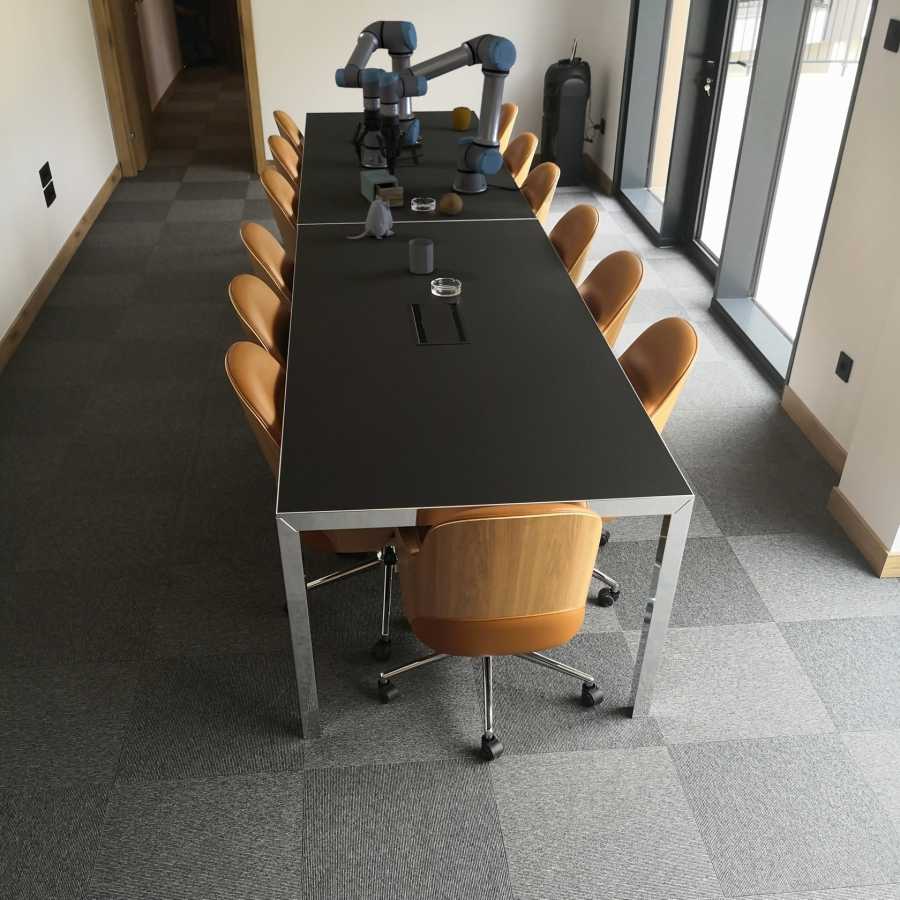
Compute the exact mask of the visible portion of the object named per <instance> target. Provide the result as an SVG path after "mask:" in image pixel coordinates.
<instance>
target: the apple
mask: <svg viewBox="0 0 900 900" xmlns="http://www.w3.org/2000/svg"><path fill="white" fill-rule="evenodd" d="M451 121H452V125H453V128H454V129H455V131H457V132H463V131H466V130H467V129H468V128H469V126H470V124H471V121H472V111H471V108H469V107H467V106H462V105H461V106H457V107H454V108H452V111H451Z"/></svg>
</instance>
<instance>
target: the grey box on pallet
mask: <svg viewBox="0 0 900 900" xmlns="http://www.w3.org/2000/svg"><path fill="white" fill-rule="evenodd" d="M359 173H360V189H361V190H360V191H361V195H362V196H364V198H366V199H367V201H369V203H370V204H372V202H373V201H375V187H374V184H381V183H390V182H394V183H395V184H396V185H397V186H398V187H399V185H398V179H397V177H395V175H390V174H389V170H387V169H386V168H382V169H371V170H363V171H360V172H359Z"/></svg>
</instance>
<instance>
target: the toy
mask: <svg viewBox="0 0 900 900" xmlns="http://www.w3.org/2000/svg"><path fill="white" fill-rule="evenodd" d="M393 221H394V220H393V217H392V213H391V207H389V200H387V203H386V202H382V200H381V198H380V197H379V196H378V195H376V200H375V201H373V202H372V203H370V206H369V209H368V213H367V216H366V220H365V223H364V228H365V231H363V232H362V233H361V234H359V235H356V236H346V237H345V238H346V239H351V240H358V239H361V238H363V237H365V236H367V237H368V236H369V237H371V236H375V237H376V239H377V240H383V236H385V237H388V236H392V235H394V234H395V232H394V231H392V228H393V225H394V224H393V223H394V222H393Z"/></svg>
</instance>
